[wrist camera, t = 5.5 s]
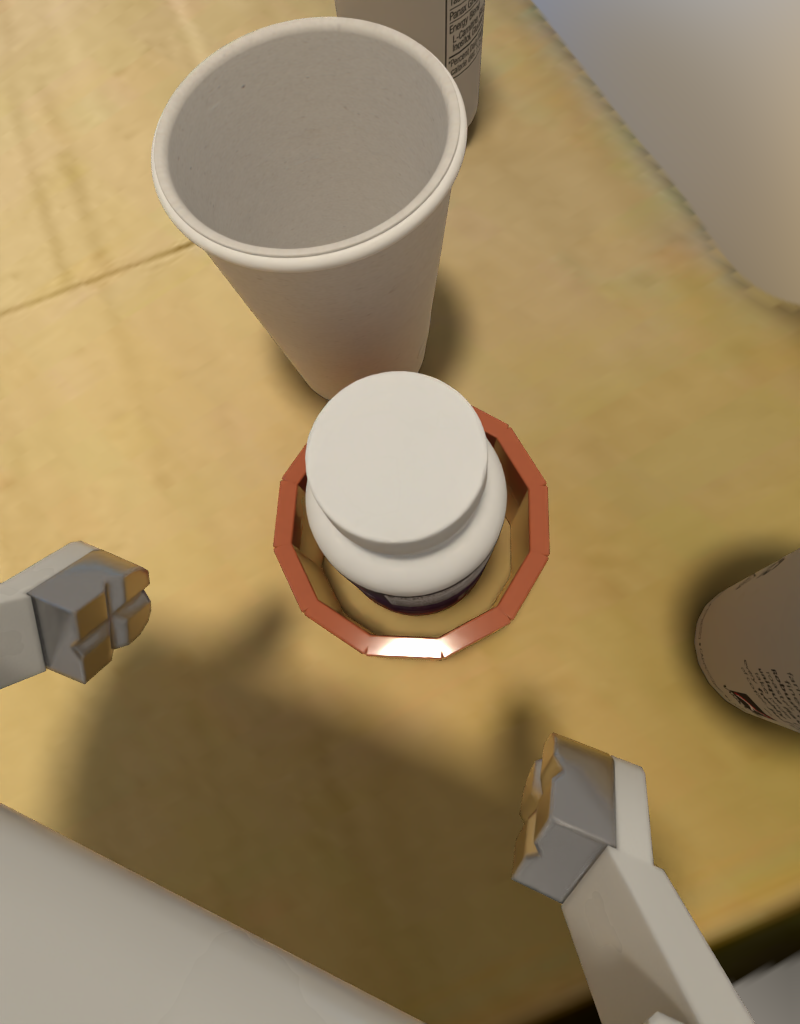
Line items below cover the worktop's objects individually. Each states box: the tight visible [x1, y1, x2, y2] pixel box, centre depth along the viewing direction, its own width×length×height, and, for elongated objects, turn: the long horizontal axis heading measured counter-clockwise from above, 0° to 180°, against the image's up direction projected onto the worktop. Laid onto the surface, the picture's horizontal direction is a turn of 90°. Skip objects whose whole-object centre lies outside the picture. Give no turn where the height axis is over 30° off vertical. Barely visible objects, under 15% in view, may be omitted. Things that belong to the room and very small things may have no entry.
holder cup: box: [273, 405, 550, 661], centre depth 19 cm, size 8×8×4 cm
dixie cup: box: [151, 17, 467, 400], centre depth 19 cm, size 8×8×10 cm
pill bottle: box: [305, 371, 507, 615], centre depth 16 cm, size 5×5×10 cm
